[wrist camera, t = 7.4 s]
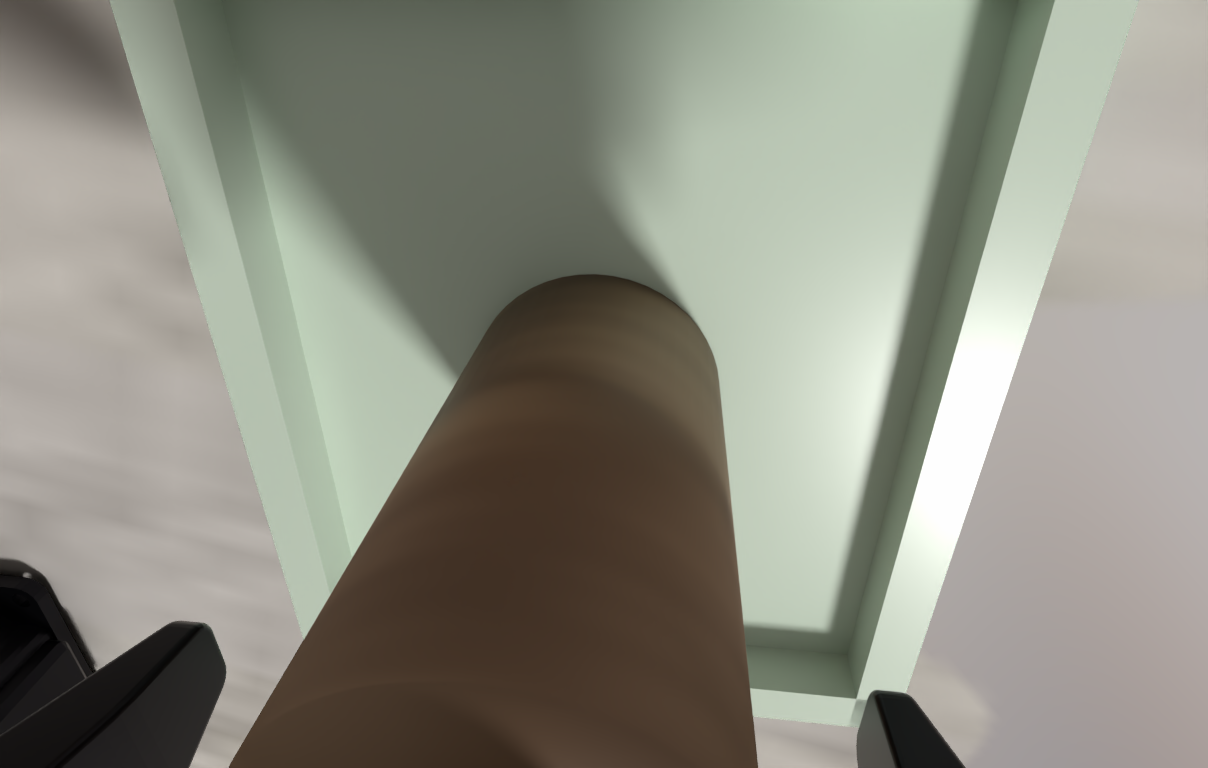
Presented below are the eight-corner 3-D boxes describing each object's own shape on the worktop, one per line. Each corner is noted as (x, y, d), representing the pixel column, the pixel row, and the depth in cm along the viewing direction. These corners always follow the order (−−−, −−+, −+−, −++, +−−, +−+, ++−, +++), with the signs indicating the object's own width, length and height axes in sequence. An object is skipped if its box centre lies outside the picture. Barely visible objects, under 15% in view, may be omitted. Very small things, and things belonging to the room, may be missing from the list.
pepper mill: (483, 484, 16) (202, 1170, 6) (465, 268, 13) (0, 847, 4) (709, 498, 15) (752, 1247, 6) (729, 279, 13) (847, 938, 4)
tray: (346, 608, 20) (312, 670, 18) (169, -92, 12) (79, -98, 10) (875, 659, 19) (892, 731, 17) (1095, -92, 10) (1172, -100, 9)
